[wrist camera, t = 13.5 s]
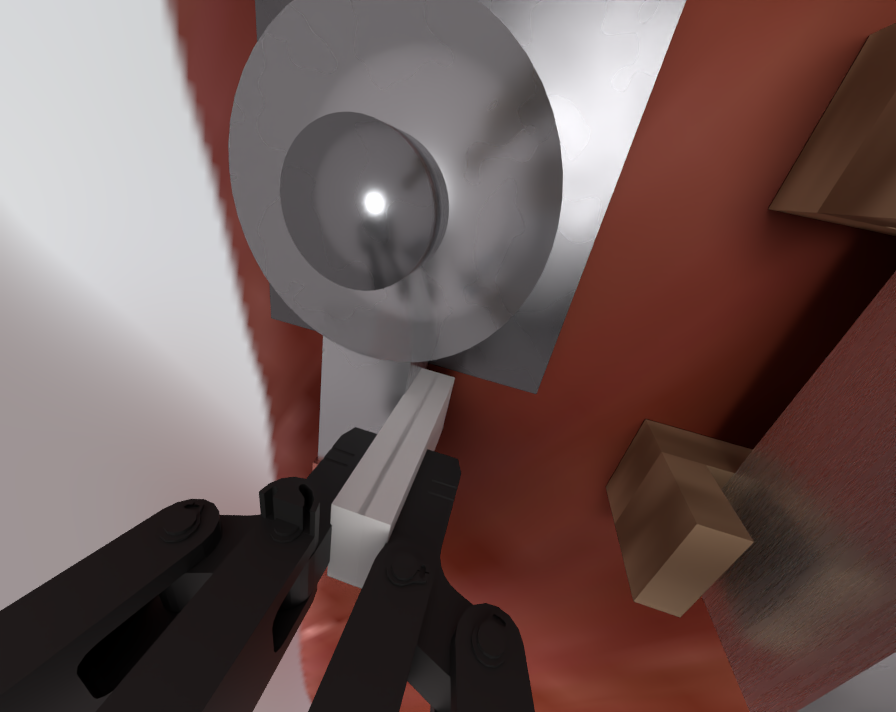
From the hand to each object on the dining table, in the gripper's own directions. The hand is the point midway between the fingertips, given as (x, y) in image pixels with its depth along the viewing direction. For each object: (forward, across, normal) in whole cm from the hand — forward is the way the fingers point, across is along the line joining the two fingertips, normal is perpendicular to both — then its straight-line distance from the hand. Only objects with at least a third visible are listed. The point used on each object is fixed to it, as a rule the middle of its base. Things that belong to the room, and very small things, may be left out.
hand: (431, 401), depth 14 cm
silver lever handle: (+1, +2, -3) cm, 4 cm away
